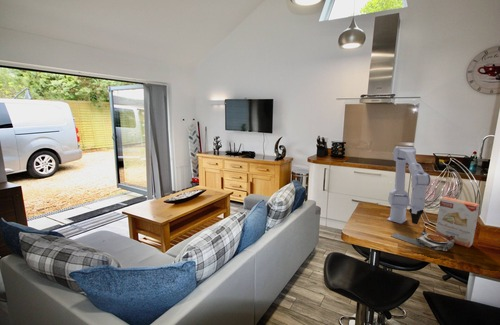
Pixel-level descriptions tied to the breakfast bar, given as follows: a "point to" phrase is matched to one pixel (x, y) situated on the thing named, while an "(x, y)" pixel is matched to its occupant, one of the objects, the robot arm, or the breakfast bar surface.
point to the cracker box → (457, 220)
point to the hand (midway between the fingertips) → (414, 223)
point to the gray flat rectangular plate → (407, 239)
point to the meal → (435, 241)
